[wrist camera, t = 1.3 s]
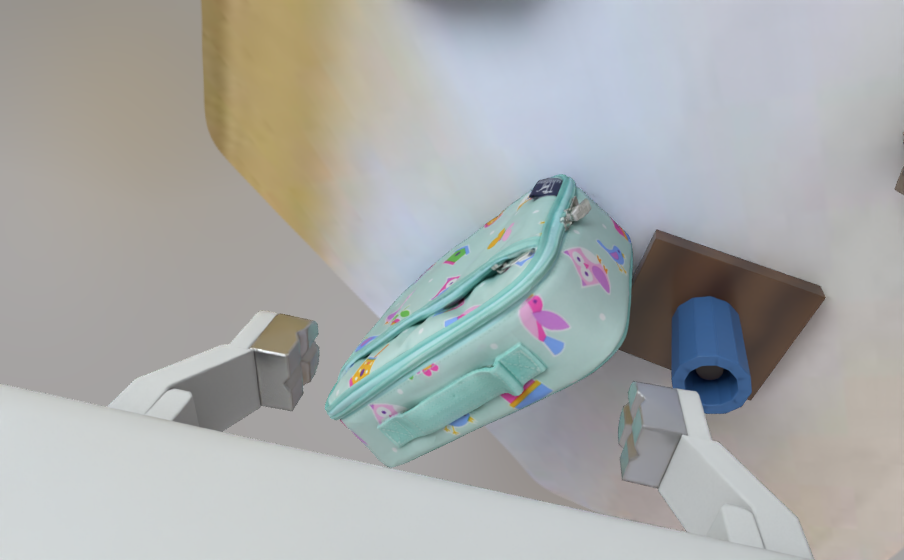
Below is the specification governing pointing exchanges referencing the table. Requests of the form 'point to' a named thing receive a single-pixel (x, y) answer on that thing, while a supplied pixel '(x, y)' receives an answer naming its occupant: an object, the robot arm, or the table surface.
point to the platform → (726, 278)
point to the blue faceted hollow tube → (710, 353)
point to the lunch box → (491, 326)
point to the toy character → (900, 181)
